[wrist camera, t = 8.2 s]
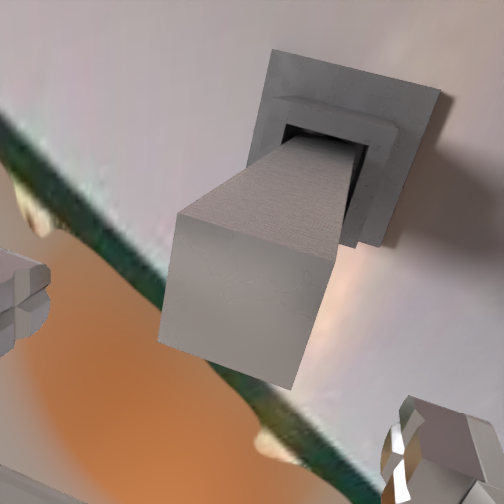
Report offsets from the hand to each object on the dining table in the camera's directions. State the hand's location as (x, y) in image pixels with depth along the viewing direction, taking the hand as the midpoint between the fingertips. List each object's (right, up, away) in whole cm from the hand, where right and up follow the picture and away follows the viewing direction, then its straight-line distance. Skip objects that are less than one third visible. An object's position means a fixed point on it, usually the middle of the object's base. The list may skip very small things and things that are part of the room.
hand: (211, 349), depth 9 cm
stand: (+8, +11, +29) cm, 32 cm away
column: (+6, +8, +22) cm, 24 cm away
